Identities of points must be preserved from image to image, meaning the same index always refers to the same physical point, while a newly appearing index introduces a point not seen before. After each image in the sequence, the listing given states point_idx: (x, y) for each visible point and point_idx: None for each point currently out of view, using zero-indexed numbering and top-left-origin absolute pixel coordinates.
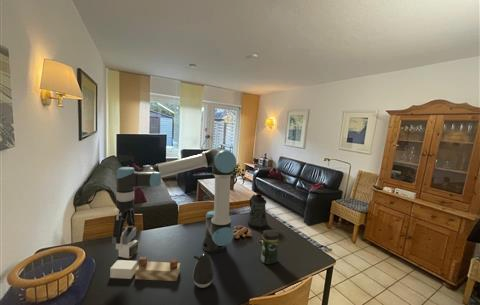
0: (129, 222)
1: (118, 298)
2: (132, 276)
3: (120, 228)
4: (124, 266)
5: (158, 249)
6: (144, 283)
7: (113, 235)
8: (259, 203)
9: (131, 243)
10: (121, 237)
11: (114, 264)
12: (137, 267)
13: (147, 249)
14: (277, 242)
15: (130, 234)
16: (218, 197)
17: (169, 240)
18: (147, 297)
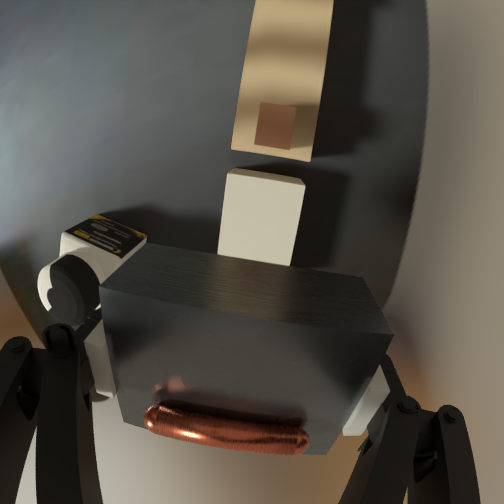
0: (84, 420)
1: (407, 198)
2: (286, 176)
3: (450, 493)
4: (276, 230)
5: (77, 119)
6: (338, 109)
7: (436, 457)
8: None
9: (91, 258)
10: (383, 383)
11: None
12: (292, 155)
13: (78, 174)
14: None
15: (297, 313)
16: None
17: (23, 100)
18: (415, 89)
